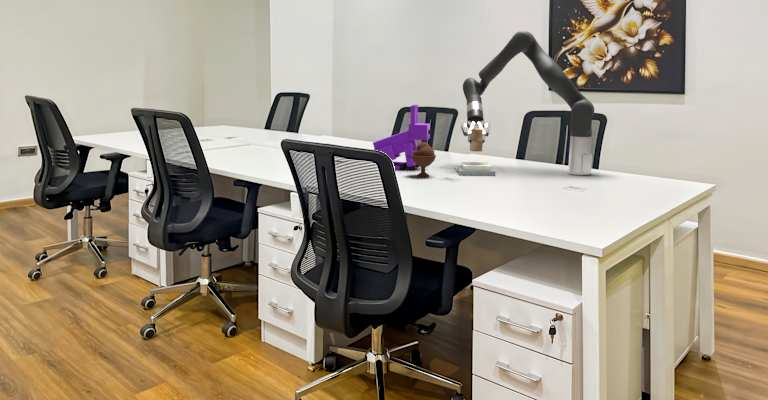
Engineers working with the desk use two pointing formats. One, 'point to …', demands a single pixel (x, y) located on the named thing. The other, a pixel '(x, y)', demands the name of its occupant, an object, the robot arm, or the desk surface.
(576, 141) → the robot arm
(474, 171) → the plinth
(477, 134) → the brown mottled cylinder
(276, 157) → the desk surface
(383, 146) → the toy
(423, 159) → the ice cream bowl
